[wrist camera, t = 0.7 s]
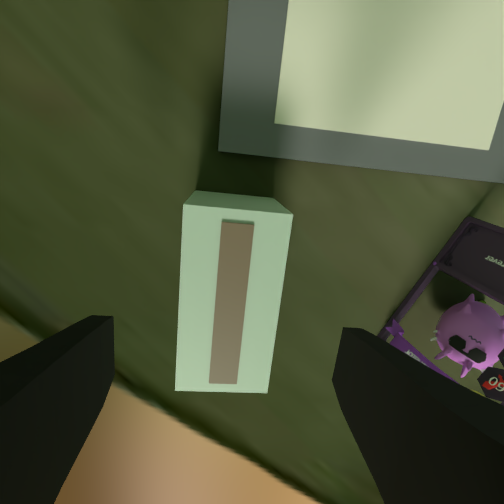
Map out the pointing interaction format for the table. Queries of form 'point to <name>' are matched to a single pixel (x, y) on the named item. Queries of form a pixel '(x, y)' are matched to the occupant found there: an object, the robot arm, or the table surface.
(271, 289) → the mint slotted box
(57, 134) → the table surface
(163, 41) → the table surface
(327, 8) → the mat
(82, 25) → the table surface
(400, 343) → the game card
